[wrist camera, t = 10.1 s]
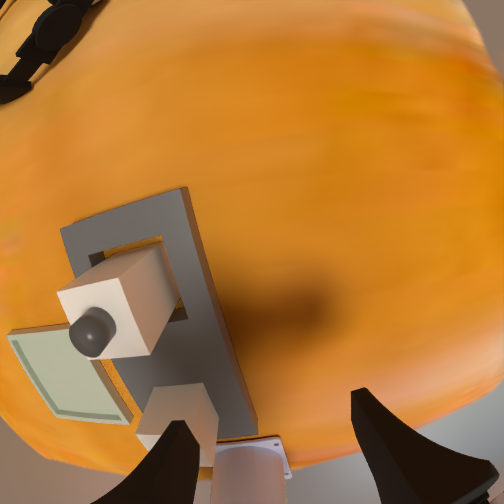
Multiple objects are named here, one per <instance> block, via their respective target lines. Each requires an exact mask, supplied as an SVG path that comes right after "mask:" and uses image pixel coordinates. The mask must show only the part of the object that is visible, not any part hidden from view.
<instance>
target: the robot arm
mask: <svg viewBox="0 0 504 504" xmlns="http://www.w3.org/2000/svg"><path fill="white" fill-rule="evenodd" d="M351 421H352V424H353V428H354V431H355V434H356V438H357V440H358V443H359V445H360V447H361V450H362V452H363V454H364V456H365V458H366V461H367V463H368V465H369V468H370V470H371V472H372V474H373V477H374V480H375V482H376V485H377V488H378V492H379V496H380V500H381V504H504V491H503V492H502V493H501V494H500V495H498V496H497V497H496V498H494V499H493V500H492V501H491V502H490V503H489V501H488V500H487V498H489V494H488V492H487V490H488V489H489V488H490V487H491V486H492V485H493V484H494V483H495V482H496V481H497V479H498V478H499V473H498V471H497V470H496V468H495V467H494V466H493V465H492V463H491V462H490V461H488V460H483V459H478V458H474V457H471V456H467V455H464V454H461V453H458V452H455V451H453V450H450V449H448V448H446V447H443V446H441V445H439V444H437V443H435V442H433V441H431V440H429V439H427V438H426V437H424V436H422V435H421V434H419V433H418V432H416V431H415V430H413V429H412V428H410V427H409V426H407V425H406V424H405V423H403V422H402V421H401V420H400V419H398V418H397V417H396V416H395V415H394V414H392V413H391V412H390V411H389V410H388V409H387V408H386V407H385V406H383V405H382V404H381V403H380V402H379V401H378V400H377V399H376V398H375V397H374V396H373V395H372V394H371V392H370V391H369V390H368V389H367V388H365V387H364V388H360V389H357V390H354V391H351ZM199 465H200V445H199V443H198V441H197V440H196V438H195V437H194V435H193V434H192V432H191V430H190V429H189V427H188V425H187V424H186V422H185V420H172V421H171V422H170V424H169V425H168V427H167V428H166V429H165V431H164V432H163V434H162V435H161V436H160V438H159V439H158V441H157V442H156V443H155V445H154V446H153V447H152V449H151V450H150V451H149V453H148V454H147V455H146V456H145V458H144V459H143V460H142V461H141V462H140V464H139V465H138V466H137V467H136V468H135V469H134V470H133V471H132V472H131V473H130V474H129V475H128V476H127V477H126V478H125V479H124V480H123V481H122V482H121V483H120V484H119V485H117V486H116V487H115V488H113V489H112V490H111V491H109V492H108V493H107V494H105V495H104V496H102V497H101V498H99V499H98V500H96V501H94V502H92V503H91V504H193V501H194V495H195V489H196V483H197V477H198V471H199ZM290 478H292V473H291V470H290V467H289V464H288V461H287V458H286V454H285V451H284V448H283V445H282V441H281V438H280V437H269V438H263V439H256V440H248V441H239V442H229V443H216V450H215V460H214V467H213V476H212V486H211V496H210V504H287V497H286V487H285V479H290Z"/></svg>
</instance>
